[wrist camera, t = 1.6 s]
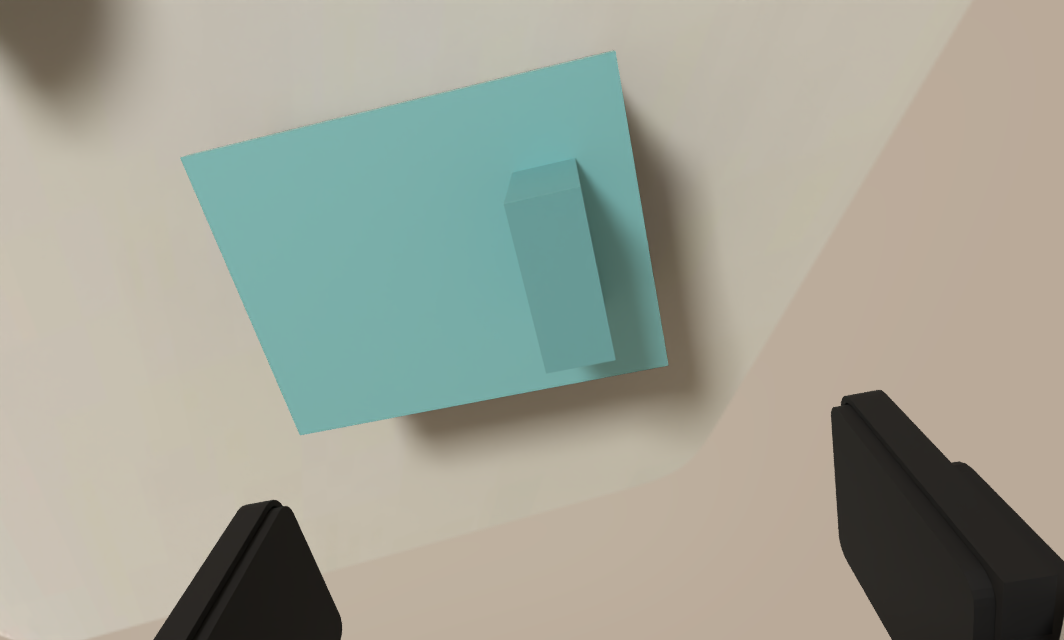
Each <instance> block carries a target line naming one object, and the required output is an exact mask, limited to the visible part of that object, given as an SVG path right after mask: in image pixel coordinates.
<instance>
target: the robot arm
mask: <svg viewBox="0 0 1064 640" xmlns="http://www.w3.org/2000/svg"><path fill="white" fill-rule="evenodd" d="M831 422H832V437H833V453H834V467H835V483H836V498H837V513H838V529H839V539H840V544H841V547H842V551H843V553H844V556H845V558H846V560H847V562H848V564H849V565H850V567H851V569H852V571H853V572H854V574H855V576H856V578H857V579H858V581H859V583H860V585H861V586H862V588H863V589H864V592H865V593H866V595H867V597H868V599H869V600H870V602H871V604H872V605H873V607H874V609H875V611H876V613H877V614H878V616H879V618H880V620H881V621H882V623H883V625H884V627H885V628H886V630H887V632H888V634H889V635H890V637H891V639H892V640H1064V561H1063V560H1062V559H1061V558H1060V557H1059V556H1058V555H1057V554H1056V553H1055V552H1054V551H1053V550H1052V549H1051V548H1050V547H1049V546H1048V545H1047V544H1046V543H1045V542H1044V541H1043V540H1042V539H1041V538H1040V537H1039V536H1038V535H1037V534H1036V533H1035V532H1034V531H1033V530H1032V529H1031V527H1029V525H1028V524H1026V522H1025V521H1024V520H1023V519H1022V518H1021V517H1020V516H1019V515H1018V514H1017V513H1016V512H1015V511H1014V510H1013V509H1012V508H1011V507H1010V506H1009V505H1008V504H1007V503H1006V502H1005V501H1004V500H1003V499H1002V498H1001V497H1000V496H999V495H998V494H997V493H996V492H995V491H994V490H993V489H992V488H991V487H990V486H989V485H988V484H987V483H986V482H985V481H984V480H983V479H982V478H981V477H980V476H979V475H978V474H977V473H976V472H975V471H974V470H973V469H972V468H971V467H970V466H968V465H967V464H965V463H962V462H953V463H951V462H950V461H949V460H948V459H947V458H946V457H945V456H944V455H943V453H942V452H941V451H940V450H939V449H938V448H937V447H936V446H935V445H934V444H933V443H932V442H931V441H930V440H929V439H928V438H927V437H926V436H925V435H924V434H923V432H921V431H920V429H919V428H918V427H917V426H916V425H915V424H914V423H913V422H912V421H911V420H910V419H909V418H908V417H907V416H906V414H905V413H904V412H903V411H902V410H901V409H900V408H899V407H898V406H897V405H896V404H895V403H894V402H893V401H892V400H891V399H890V398H889V397H888V396H887V394H885V393H884V392H883V391H882V390H876V391H870V392H864V393H859V394H853V395H848V396H844V397H843V398H842V401H841V406H838V407H833V408H832V411H831ZM341 635H342V622H341V617H340V615H339V612H338V610H337V608H336V606H335V603H334V601H333V599H332V597H331V595H330V592H329V590H328V588H327V586H326V584H325V581H324V579H323V577H322V575H321V573H320V570H319V568H318V566H317V564H316V562H315V559H314V557H313V555H312V553H311V551H310V548H309V546H308V544H307V542H306V540H305V537H304V535H303V533H302V531H301V529H300V527H299V524H298V522H297V520H296V518H295V516H294V513H293V512H292V510H291V509H290V508H289V507H287V506H282V504H281V503H280V502H279V501H277V500H270V501H265V502H259V503H254V504H248V505H244V506H242V507H241V508H240V509H239V510H238V511H237V513H236V514H235V516H234V517H233V519H232V521H231V522H230V524H229V525H228V527H227V528H226V530H225V531H224V533H223V534H222V536H221V537H220V539H219V540H218V542H217V543H216V545H215V546H214V548H213V550H212V551H211V553H210V554H209V556H208V557H207V559H206V560H205V562H204V563H203V565H202V566H201V568H200V569H199V571H198V572H197V574H196V575H195V577H194V579H193V580H192V582H191V583H190V585H189V586H188V588H187V589H186V591H185V592H184V594H183V595H182V597H181V598H180V600H179V601H178V603H177V605H176V606H175V608H174V609H173V611H172V612H171V614H170V615H169V617H168V618H167V620H166V621H165V623H164V624H163V626H162V628H161V629H160V630H159V632H158V634H157V635H156V637H155V638H154V640H341Z"/></svg>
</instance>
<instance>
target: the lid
mask: <svg viewBox="0 0 1064 640" xmlns="http://www.w3.org/2000/svg"><path fill="white" fill-rule="evenodd" d="M181 161H182V163H183V165H184V168H185V170H186V172H187V175H188V177H189V179H190V181H191V184H192V186H193V188H194V191H195V193H196V195H197V198H198V200H199V202H200V205H201V207H202V209H203V212H204V214H205V216H206V219H207V221H208V223H209V225H210V228H211V230H212V232H213V235H214V237H215V239H216V242H217V244H218V246H219V249H220V251H221V253H222V256H223V258H224V260H225V263H226V265H227V267H228V270H229V272H230V274H231V276H232V279H233V281H234V283H235V286H236V288H237V290H238V293H239V295H240V297H241V300H242V302H243V304H244V307H245V309H246V311H247V314H248V316H249V318H250V321H251V323H252V325H253V327H254V330H255V332H256V334H257V337H258V339H259V341H260V344H261V346H262V348H263V351H264V353H265V355H266V358H267V360H268V362H269V365H270V367H271V369H272V371H273V374H274V376H275V378H276V381H277V383H278V385H279V388H280V390H281V392H282V395H283V397H284V399H285V402H286V404H287V406H288V409H289V411H290V413H291V416H292V418H293V420H294V422H295V425H296V427H297V429H298V432H299V434H300V435H304V434H309V433H315V432H320V431H325V430H331V429H336V428H341V427H346V426H352V425H357V424H362V423H368V422H373V421H378V420H383V419H389V418H394V417H399V416H405V415H410V414H415V413H420V412H426V411H431V410H436V409H442V408H447V407H452V406H457V405H463V404H468V403H473V402H479V401H484V400H489V399H494V398H500V397H505V396H510V395H515V394H521V393H526V392H531V391H537V390H542V389H547V388H552V387H558V386H563V385H568V384H574V383H579V382H584V381H589V380H595V379H600V378H605V377H611V376H616V375H621V374H626V373H632V372H637V371H642V370H648V369H653V368H658V367H663V366H668V360H667V354H666V348H665V342H664V336H663V330H662V324H661V318H660V312H659V307H658V301H657V295H656V289H655V283H654V277H653V271H652V265H651V259H650V253H649V247H648V241H647V236H646V230H645V224H644V218H643V212H642V206H641V200H640V194H639V188H638V182H637V176H636V171H635V165H634V159H633V153H632V147H631V141H630V135H629V129H628V123H627V117H626V111H625V105H624V100H623V94H622V88H621V82H620V76H619V70H618V64H617V58H616V52H615V51H614V50H613V51H609V52H605V53H601V54H597V55H593V56H589V57H585V58H581V59H576V60H572V61H568V62H564V63H560V64H556V65H552V66H548V67H544V68H540V69H536V70H532V71H528V72H524V73H519V74H515V75H511V76H507V77H503V78H499V79H495V80H491V81H487V82H483V83H479V84H475V85H471V86H467V87H462V88H458V89H454V90H450V91H446V92H442V93H438V94H434V95H430V96H426V97H422V98H418V99H414V100H410V101H405V102H401V103H397V104H393V105H389V106H385V107H381V108H377V109H373V110H369V111H365V112H361V113H357V114H353V115H348V116H344V117H340V118H336V119H332V120H328V121H324V122H320V123H316V124H312V125H308V126H304V127H300V128H296V129H291V130H287V131H283V132H279V133H275V134H271V135H267V136H263V137H259V138H255V139H251V140H247V141H243V142H239V143H234V144H230V145H226V146H222V147H218V148H214V149H210V150H206V151H202V152H198V153H194V154H190V155H187V156H184V157H181Z"/></svg>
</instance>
